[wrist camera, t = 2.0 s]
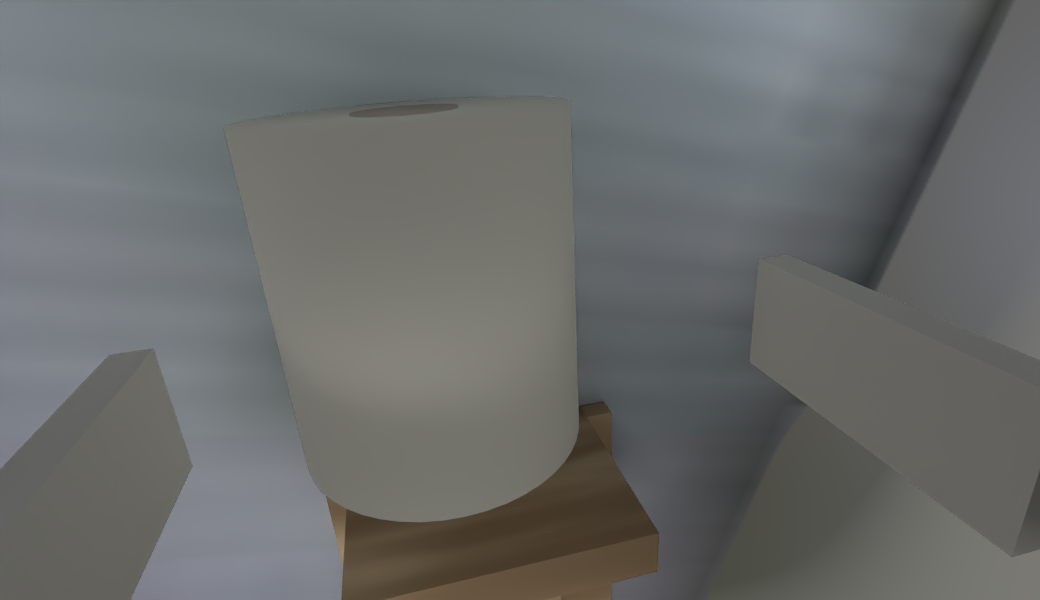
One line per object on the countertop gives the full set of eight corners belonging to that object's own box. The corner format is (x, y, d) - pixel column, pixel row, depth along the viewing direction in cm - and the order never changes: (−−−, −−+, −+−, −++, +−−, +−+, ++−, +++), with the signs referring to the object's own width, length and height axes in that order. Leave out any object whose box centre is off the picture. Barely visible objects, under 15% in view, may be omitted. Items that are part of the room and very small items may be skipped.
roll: (303, 106, 18) (138, 141, 10) (563, 89, 17) (582, 114, 10) (354, 365, 21) (257, 528, 14) (571, 356, 21) (590, 519, 14)
